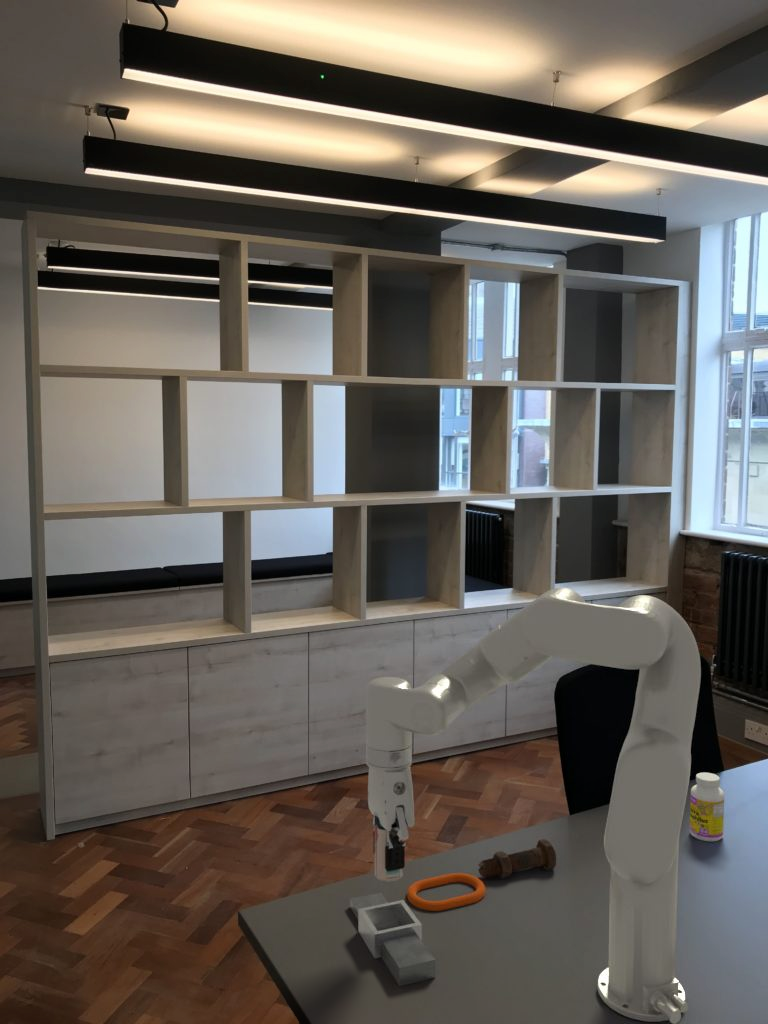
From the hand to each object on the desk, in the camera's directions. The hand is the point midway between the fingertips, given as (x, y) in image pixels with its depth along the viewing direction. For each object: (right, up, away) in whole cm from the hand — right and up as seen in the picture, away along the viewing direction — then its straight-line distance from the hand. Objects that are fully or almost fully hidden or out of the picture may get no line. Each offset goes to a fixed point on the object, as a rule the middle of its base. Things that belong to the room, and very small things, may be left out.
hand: (388, 860), depth 142 cm
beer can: (0, -3, 0) cm, 3 cm away
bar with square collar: (0, -14, +1) cm, 14 cm away
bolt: (+25, -12, +24) cm, 36 cm away
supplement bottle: (+67, -11, +39) cm, 78 cm away
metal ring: (+11, -13, +16) cm, 23 cm away
